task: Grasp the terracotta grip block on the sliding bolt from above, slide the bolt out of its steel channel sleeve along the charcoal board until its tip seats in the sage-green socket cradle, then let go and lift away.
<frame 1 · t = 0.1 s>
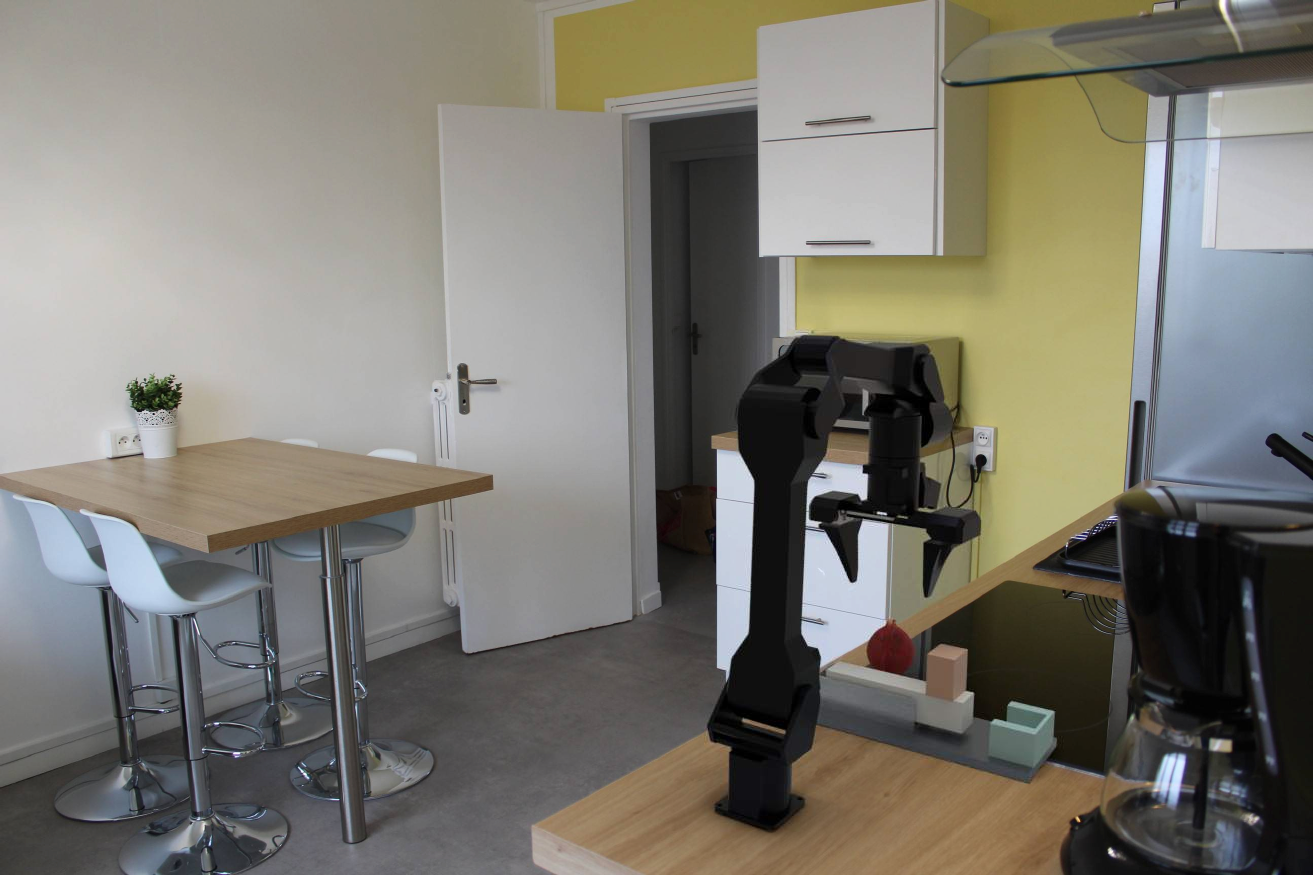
hand: (889, 589, 116), 15 cm above the kitchen counter, tool pointing down, fingers open, 9 cm apart
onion: (889, 681, 127), on the kitchen counter
sliding bolt: (898, 675, 113), point 6 cm above the kitchen counter, slide at 0.0 cm
socket: (1020, 758, 105), resting on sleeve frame
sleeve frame: (921, 731, 112), on the kitchen counter
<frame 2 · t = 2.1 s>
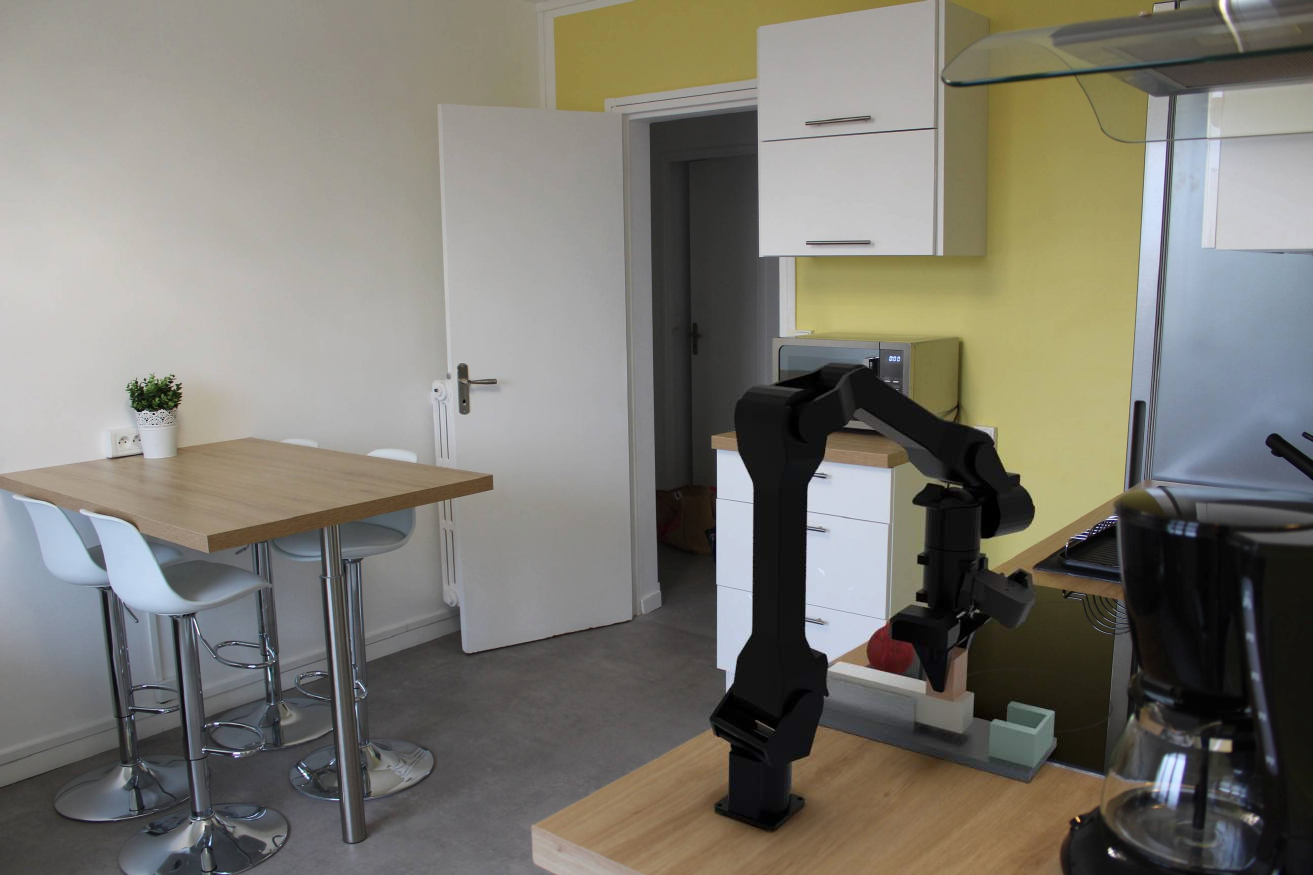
hand: (946, 685, 109), 6 cm above the kitchen counter, tool pointing down, fingers closed on sliding bolt, 4 cm apart
sliding bolt: (898, 675, 113), point 6 cm above the kitchen counter, slide at 0.0 cm, touching gripper
everything else where it was.
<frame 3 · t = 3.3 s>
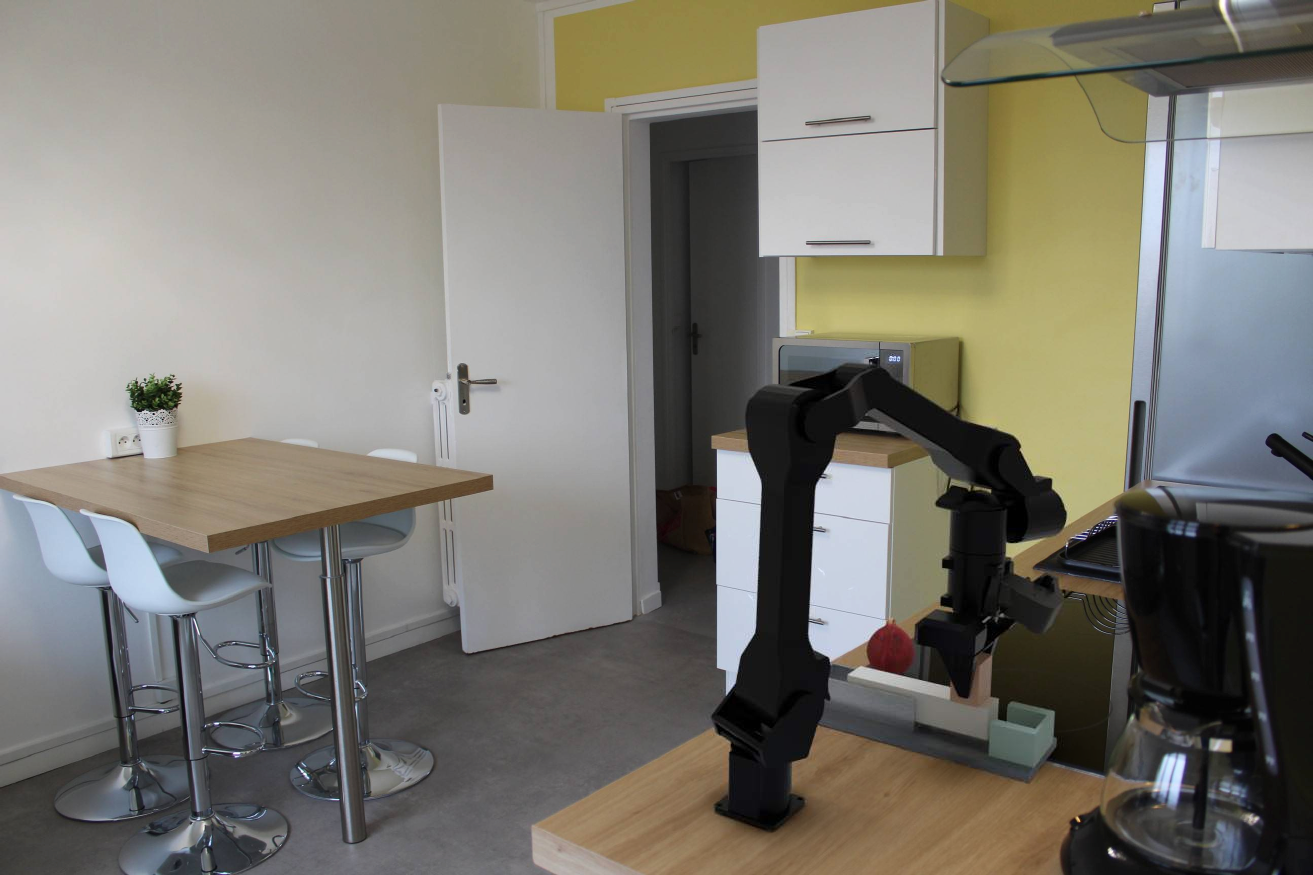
hand: (970, 690, 108), 6 cm above the kitchen counter, tool pointing down, fingers closed on sliding bolt, 4 cm apart
sliding bolt: (921, 681, 111), point 6 cm above the kitchen counter, slide at 2.7 cm, touching gripper
everything else where it was.
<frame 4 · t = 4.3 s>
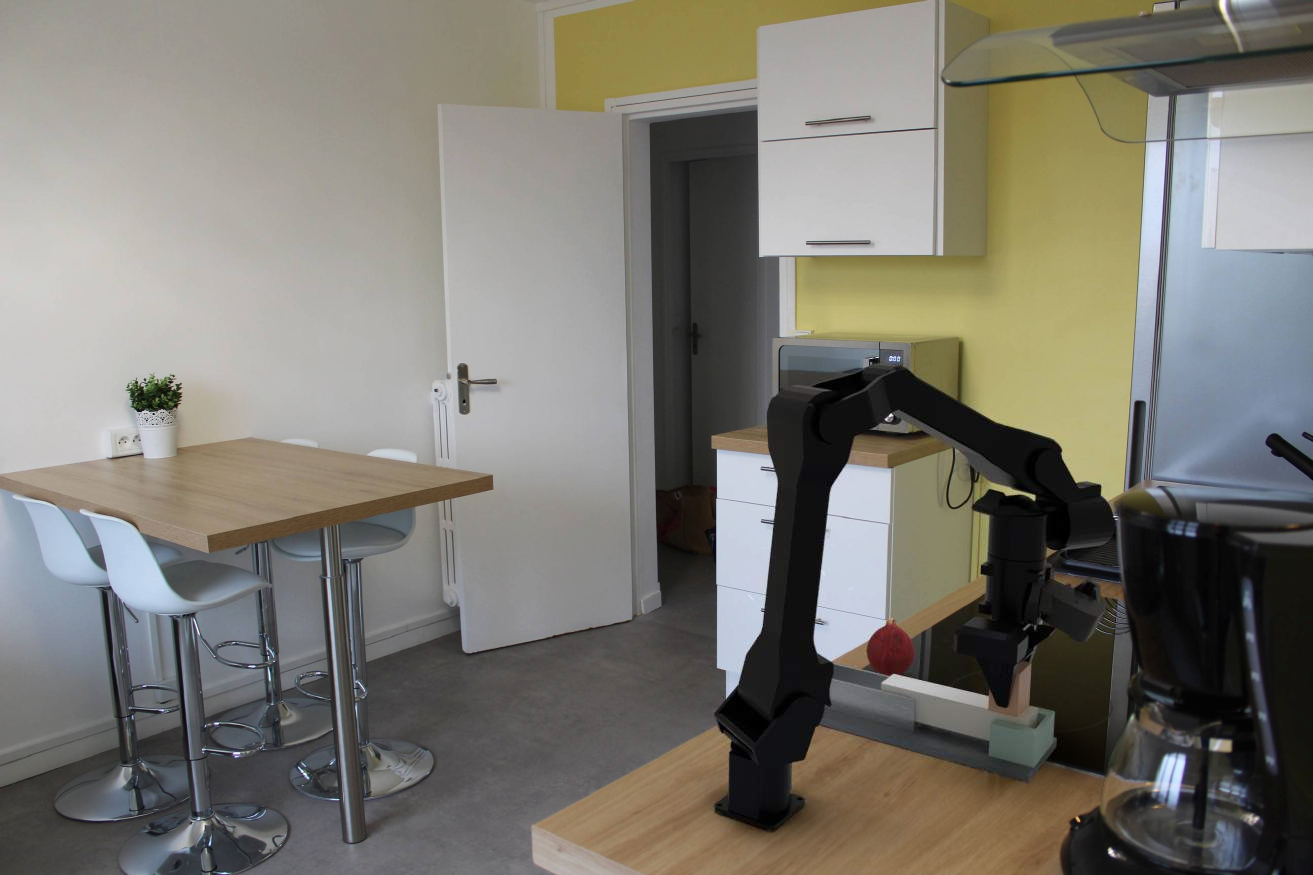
hand: (1009, 699, 105), 6 cm above the kitchen counter, tool pointing down, fingers closed on sliding bolt, 4 cm apart
sliding bolt: (957, 689, 109), point 6 cm above the kitchen counter, slide at 6.8 cm, touching gripper
everything else where it was.
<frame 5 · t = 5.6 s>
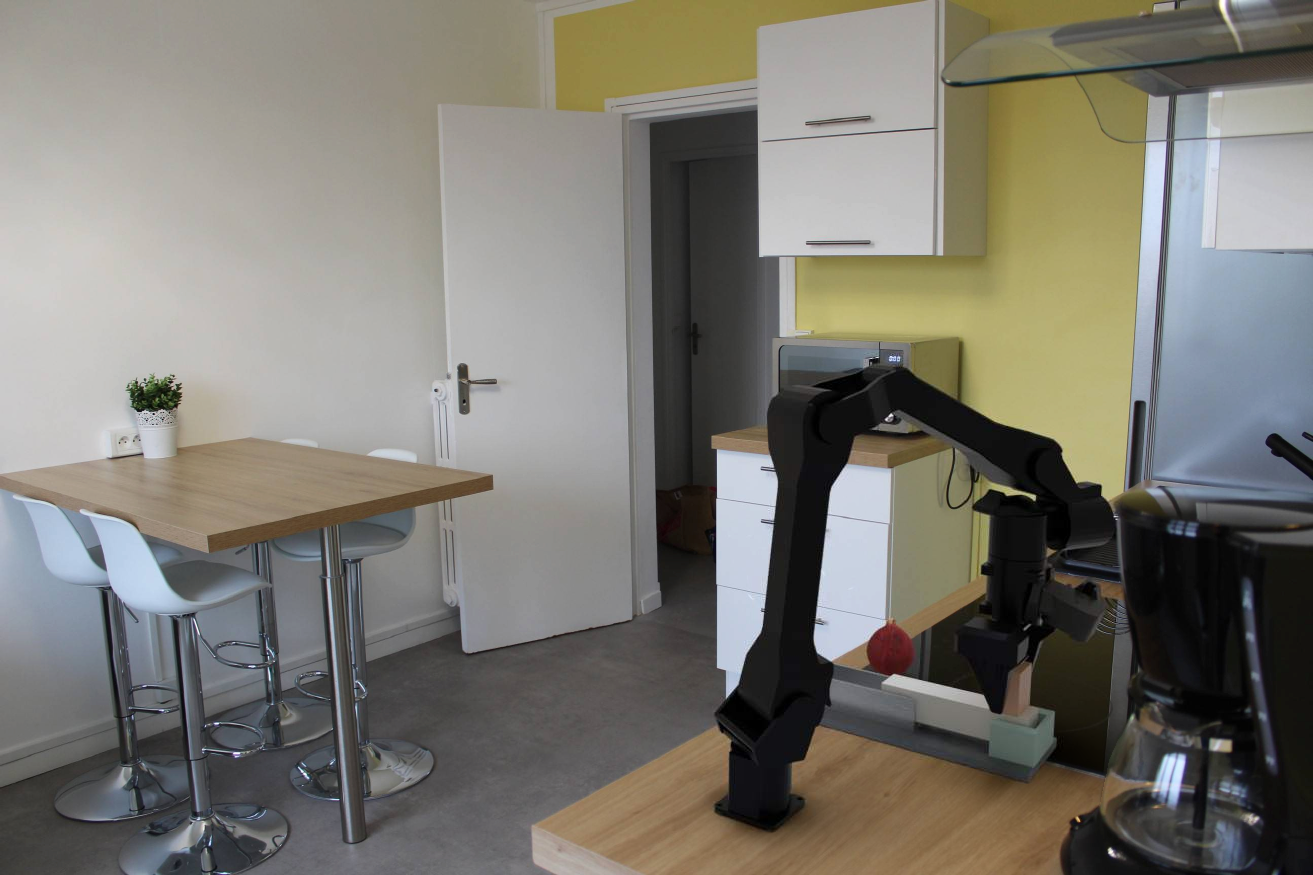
hand: (1009, 700, 105), 6 cm above the kitchen counter, tool pointing down, fingers open, 8 cm apart
sliding bolt: (957, 689, 109), point 6 cm above the kitchen counter, slide at 6.8 cm
everything else where it was.
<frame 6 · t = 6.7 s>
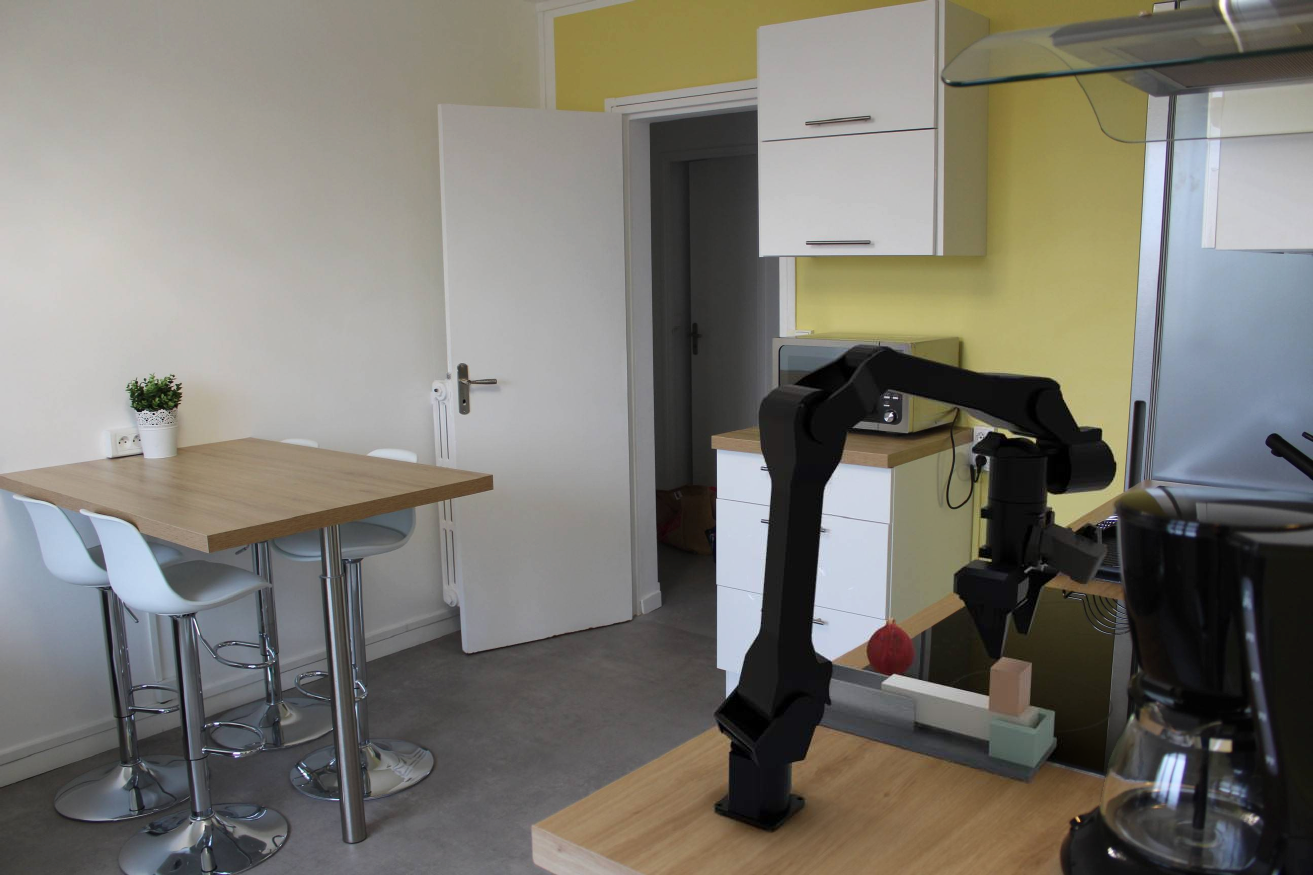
hand: (1009, 645, 105), 12 cm above the kitchen counter, tool pointing down, fingers open, 9 cm apart
nothing on the kitchen counter moved.
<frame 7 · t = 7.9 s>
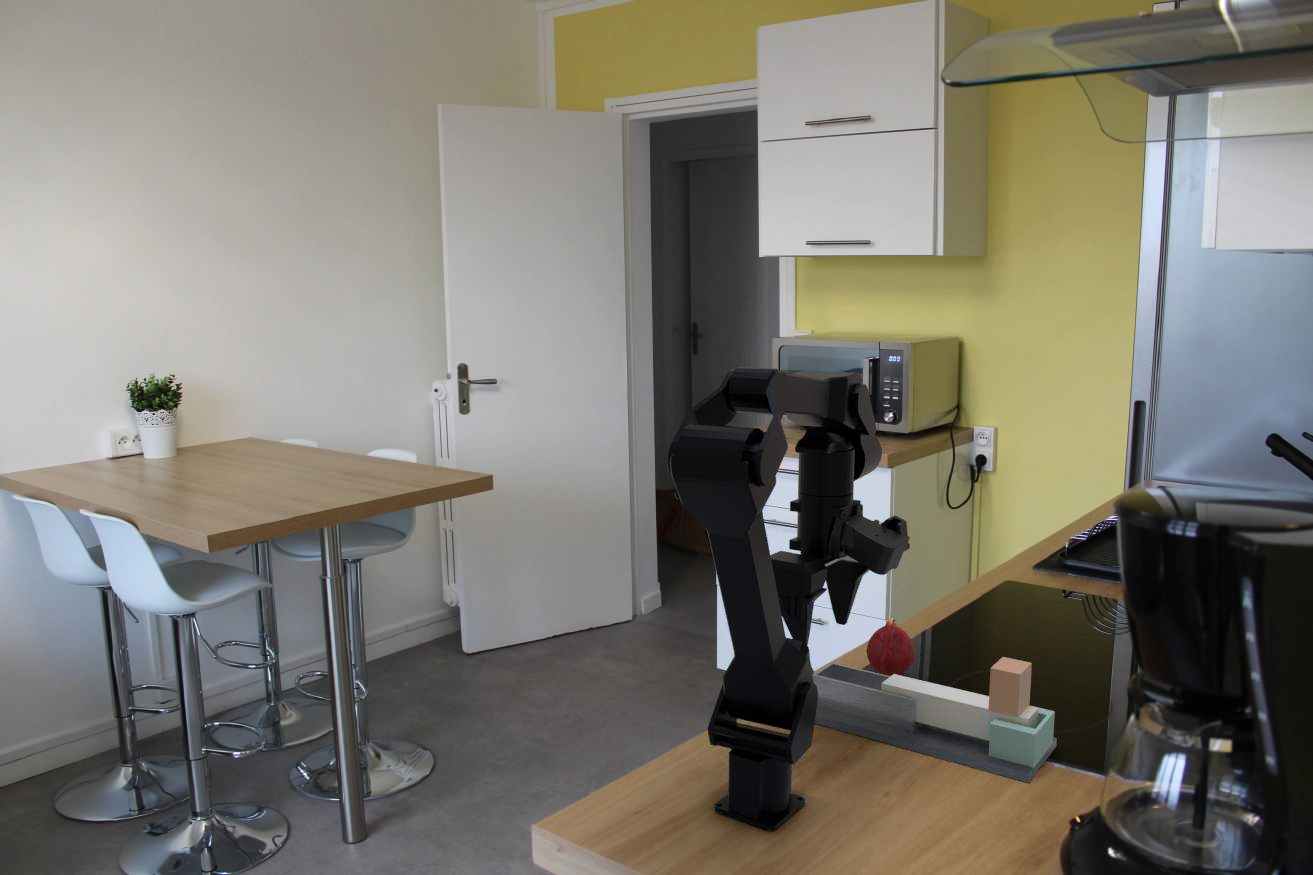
hand: (822, 635, 108), 12 cm above the kitchen counter, tool pointing down, fingers open, 9 cm apart
nothing on the kitchen counter moved.
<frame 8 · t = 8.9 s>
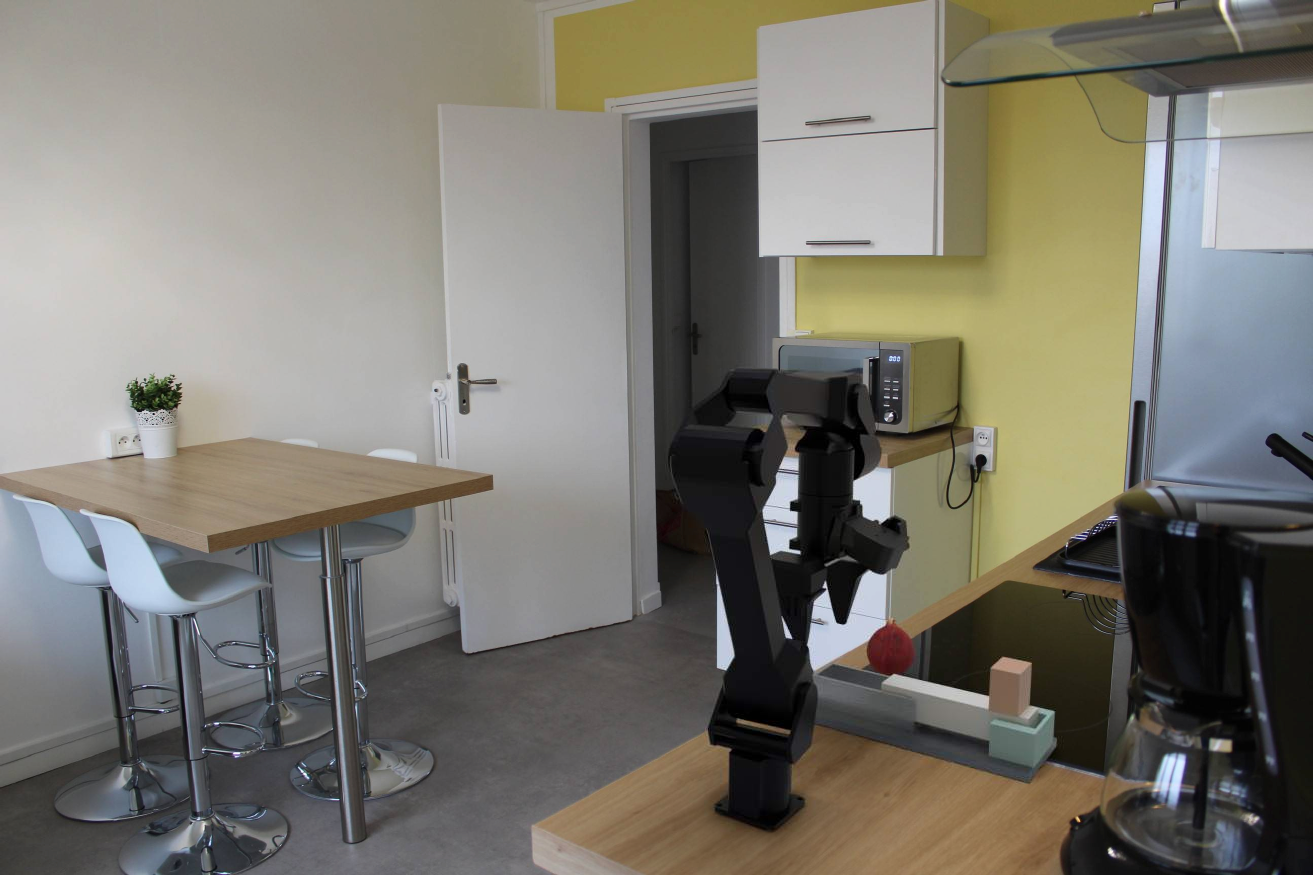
hand: (821, 635, 108), 12 cm above the kitchen counter, tool pointing down, fingers open, 9 cm apart
nothing on the kitchen counter moved.
at the end: sliding bolt slide at 6.8 cm; the gripper is holding nothing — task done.
